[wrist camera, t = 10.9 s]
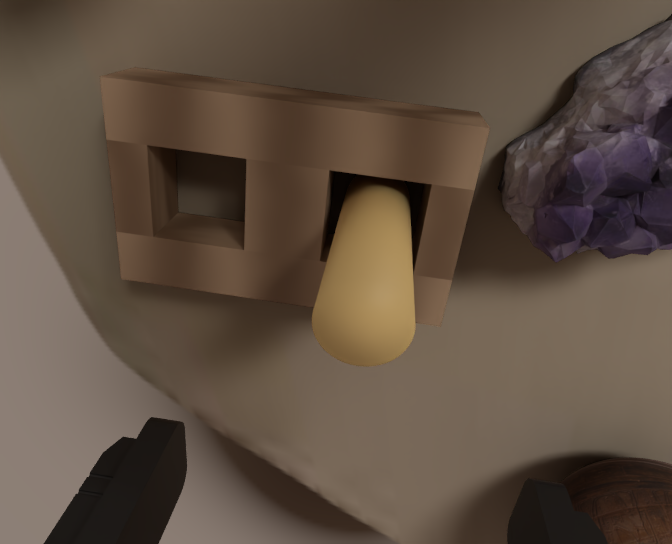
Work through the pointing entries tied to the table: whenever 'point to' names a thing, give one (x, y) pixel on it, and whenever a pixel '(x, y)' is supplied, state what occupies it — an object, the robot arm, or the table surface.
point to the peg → (368, 276)
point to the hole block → (278, 181)
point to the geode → (601, 157)
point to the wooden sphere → (625, 499)
